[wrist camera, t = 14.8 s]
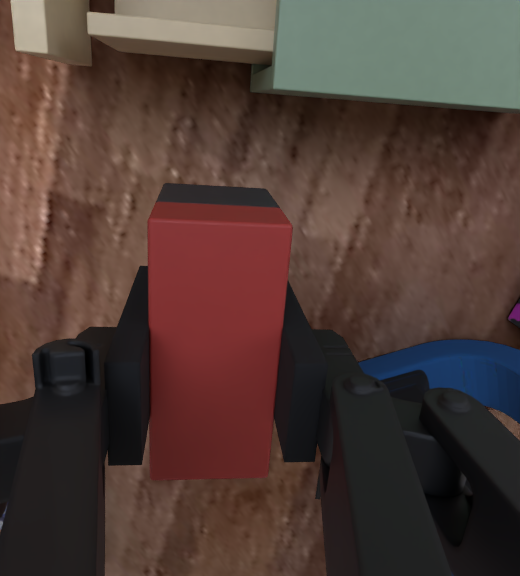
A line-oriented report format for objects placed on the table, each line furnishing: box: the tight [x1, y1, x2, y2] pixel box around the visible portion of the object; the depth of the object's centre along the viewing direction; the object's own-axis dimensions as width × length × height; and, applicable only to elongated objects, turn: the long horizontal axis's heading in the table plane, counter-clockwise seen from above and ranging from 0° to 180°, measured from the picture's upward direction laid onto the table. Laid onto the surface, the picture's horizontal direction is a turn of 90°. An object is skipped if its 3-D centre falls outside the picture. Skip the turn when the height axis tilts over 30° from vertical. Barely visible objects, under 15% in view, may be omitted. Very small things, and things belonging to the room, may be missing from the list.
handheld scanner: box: [358, 340, 520, 576], centre depth 27 cm, size 5×16×20 cm, turn 105°
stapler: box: [148, 183, 293, 480], centre depth 15 cm, size 8×3×5 cm, turn 176°
